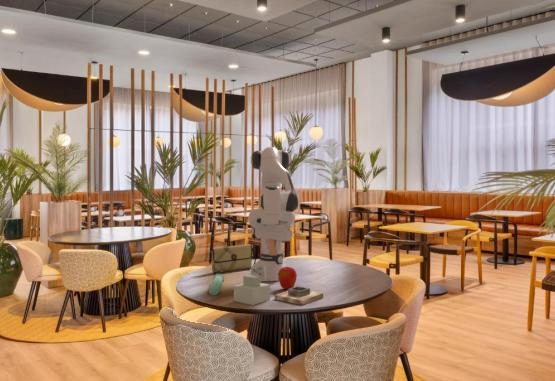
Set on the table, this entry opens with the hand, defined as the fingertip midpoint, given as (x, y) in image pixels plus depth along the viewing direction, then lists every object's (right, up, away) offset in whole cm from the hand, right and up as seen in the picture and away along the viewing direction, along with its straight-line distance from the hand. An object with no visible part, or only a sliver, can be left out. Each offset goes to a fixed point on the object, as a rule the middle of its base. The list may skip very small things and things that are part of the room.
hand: (273, 249), depth 223 cm
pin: (0, -3, 0) cm, 3 cm away
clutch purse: (-24, -21, +59) cm, 67 cm away
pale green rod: (-29, -23, +14) cm, 39 cm away
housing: (-10, -23, -8) cm, 26 cm away
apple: (+7, -22, +12) cm, 26 cm away
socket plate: (+12, -22, -6) cm, 26 cm away
